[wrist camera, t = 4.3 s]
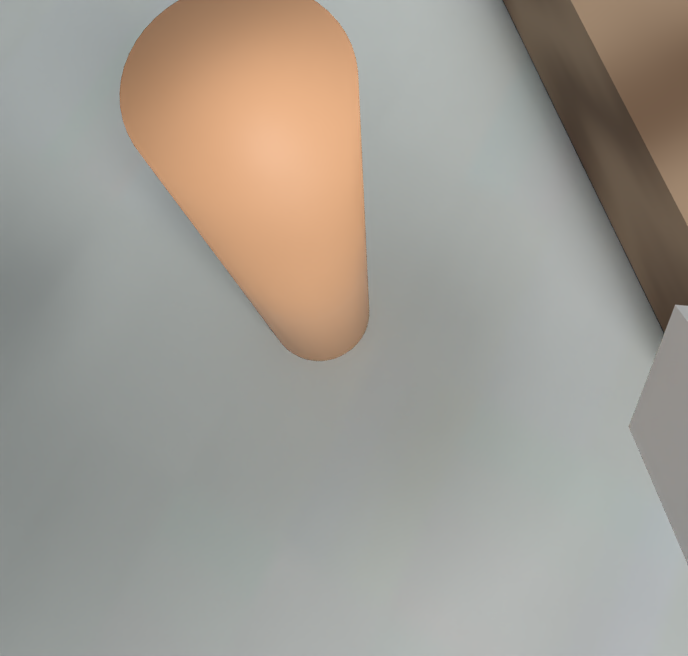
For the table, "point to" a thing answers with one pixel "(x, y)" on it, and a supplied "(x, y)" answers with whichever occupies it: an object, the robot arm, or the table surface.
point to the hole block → (624, 120)
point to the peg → (262, 155)
